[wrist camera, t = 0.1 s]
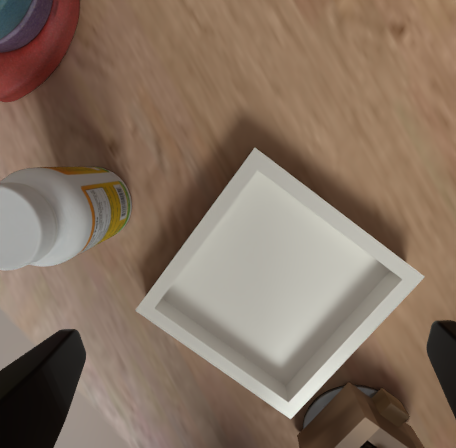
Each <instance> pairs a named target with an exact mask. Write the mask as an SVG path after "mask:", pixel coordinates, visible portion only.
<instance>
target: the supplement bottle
mask: <svg viewBox="0 0 456 448" xmlns="http://www.w3.org/2000/svg"><path fill="white" fill-rule="evenodd" d="M131 209H132V201H131V196H130V193H129V190H128V188H127V186H126V185H125V183H124V182H123V181H122V180H121V179H120V178H119V177H118V176H117V175H116V174H114V173H113V172H111V171H109V170H107V169H104V168H100V167H37V168H27V169H22V170H19V171H16V172H14V173H12V174H10V175H8V176H7V177H6V178H4V179H3V180H2V181H1V182H0V270H14V269H18V268H21V267H24V266H26V265H29V264H30V265H34V266H53V265H57V264H60V263H63V262H65V261H67V260H69V259H71V258H73V257H75V256H77V255H79V254H80V253H82V252H84V251H86V250H88V249H90V248H91V247H93V246H95V245H97V244H99V243H101V242H103V241H104V240H106V239H108V238H110V237H112V236H114V235H115V234H117V233H118V232H120V231H121V230H122V229H123V228H124V227H125V225H126V224H127V222H128V220H129V218H130V215H131Z"/></svg>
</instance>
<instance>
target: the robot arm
mask: <svg viewBox="0 0 456 448" xmlns="http://www.w3.org/2000/svg"><path fill="white" fill-rule="evenodd" d="M427 354H428V357H429V359H430V361H431V364H432V366H433V368H434V371H435V373H436V375H437V378H438V380H439V382H440V384H441V387H442V389H443V391H444V394H445V396H446V398H447V401H448V403H449V405H450V407H451V410H452V412H453V414H454V416H455V418H456V322H455V321H451V320H443V321H435V322H434V323H433V324H432V326H431V330H430V334H429V338H428V342H427ZM85 360H86V351H85V348H84V345H83V342H82V340H81V337H80V334H79V332H78V331H77V330H75V329H63V330H59V331H58V332H56V333H55V334H53V335H52V336H50V337H49V338H47V339H46V340H44V341H43V342H42V343H40V344H39V345H37V346H36V347H34V348H33V349H32V350H30V351H28V352H27V353H25V354H24V355H23V356H21V357H20V358H19V359H17V360H15V361H14V362H12V363H11V364H9V365H8V366H7V367H5V368H3V369H2V370H1V371H0V448H53V447H54V445H55V443H56V441H57V438H58V436H59V434H60V432H61V429H62V427H63V424H64V422H65V419H66V417H67V414H68V411H69V408H70V405H71V402H72V399H73V396H74V393H75V390H76V387H77V384H78V381H79V378H80V375H81V372H82V369H83V366H84V363H85Z"/></svg>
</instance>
